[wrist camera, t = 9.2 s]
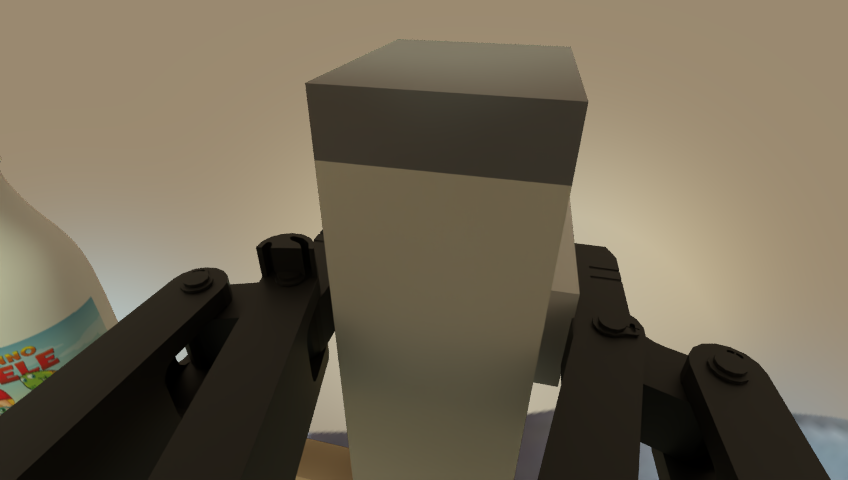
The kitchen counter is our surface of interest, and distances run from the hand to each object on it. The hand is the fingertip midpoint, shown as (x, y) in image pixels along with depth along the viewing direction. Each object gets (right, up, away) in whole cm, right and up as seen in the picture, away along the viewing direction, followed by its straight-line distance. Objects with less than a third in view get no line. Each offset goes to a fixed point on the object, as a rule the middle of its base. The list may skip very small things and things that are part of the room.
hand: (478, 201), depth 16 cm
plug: (-1, -11, 0) cm, 11 cm away
